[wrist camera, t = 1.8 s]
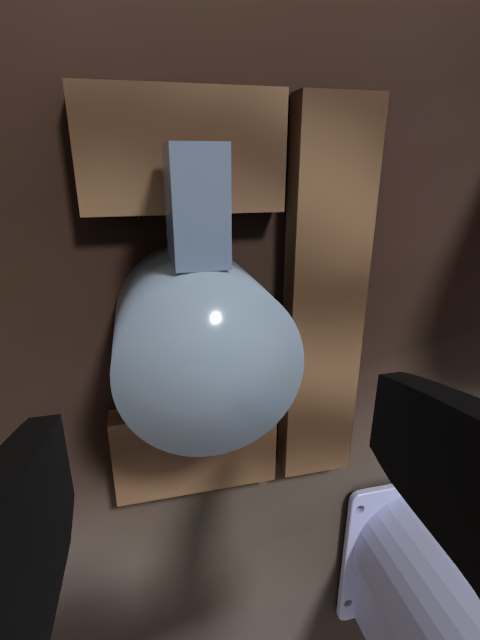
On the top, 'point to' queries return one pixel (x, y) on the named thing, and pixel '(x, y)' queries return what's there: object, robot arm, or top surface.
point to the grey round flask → (200, 324)
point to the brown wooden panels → (250, 197)
